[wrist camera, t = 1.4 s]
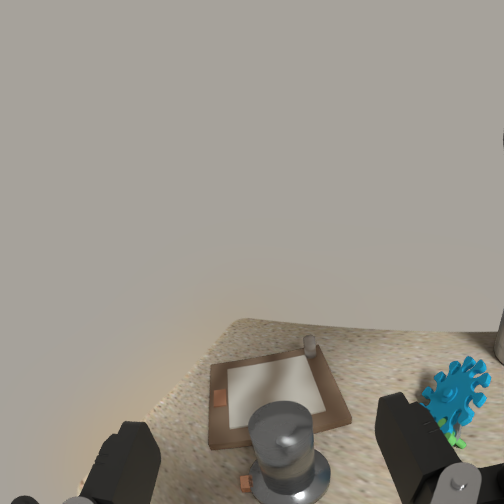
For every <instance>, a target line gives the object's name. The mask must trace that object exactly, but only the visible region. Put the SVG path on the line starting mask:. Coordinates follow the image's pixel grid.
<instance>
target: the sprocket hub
mask: <svg viewBox="0 0 504 504" xmlns="http://www.w3.org/2000/svg"><path fill="white" fill-rule="evenodd" d="M248 431H249V434H250V438H251V441H252V444H253V447H254V451H255V454H256V457H257V460H256V461H255V462H254V464H253V465H252V467H251V469H250V472H249V475H245V476H240V483H241V490H242V492H251V491H252V493H253V495H254V497H255V498H256V499H257V500H258V501H259V502H260V503H261V504H314V503H316V502H317V501H318V500H319V499H320V498H321V497H322V496H323V495H324V494H325V492H326V491H327V489H328V487H329V483H330V475H331V473H330V466H329V464H328V461H327V460H326V458H325V457H324V456H323V455H322V454H321V453H320V452H318V451H317V450H315V449H314V437H313V419H312V415H311V413H310V412H309V410H308V409H307V408H306V407H305V406H303V405H301V404H299V403H297V402H293V401H275V402H271V403H268V404H266V405H264V406H262V407H260V408H259V409H257V410H256V411H255V412H254V413H253V414H252V416H251V417H250V419H249V422H248Z"/></svg>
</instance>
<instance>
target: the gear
mask: <svg viewBox="0 0 504 504" xmlns="http://www.w3.org/2000/svg"><path fill="white" fill-rule="evenodd" d="M474 365H475V366H474ZM473 366H474V367H473ZM472 367H473V368H472ZM470 368H472V369H470ZM469 369H470V370H469ZM467 370H469V371H467ZM466 371H467V372H466ZM485 371H486V365H485V363H484V362H483V361H482V359H481V360H479V361H478V362H477V363H476V362H475V360H474V359H473V358H472V357H470V356H467V357H466V358H465V360H464V363H463V365H462V367H461V364H460V363H459V362H458V361H454V362H451V363H450V365H449V373H448V376H447V377H446V375H445V374H444V373H443V372H442V371H441V372H439V373H438V374H436V375H435V377H434V379H435V381H436V382H437V388H436V391H435V392H434V391H433V389H431V388H430V387H429V386H428V387H427V388H426V389H425V390H424V391H423V392H422V395H423V396H424V397H425V398H426V399H430V400H431V401H430V404H429V405H428V406H425V405H424V404H423V403H419V404H421V405H422V406H424V407H425V408H427V409H428V410H429V412H430V413H431V415H432V416H433V418H434V419H435V420H436V422H437V424H438V425H439V427H440V430H442V432H443V433H444V435H445V436H446V438H447V440H448V441H449V443H450V444H451V446H453V445H454V444H456V445H457V446H459V447H460V448H461V449H463V448H465V447H466V443H465V442H464V441H462V440H461V439H460V434H461V428H462V426H465V425H467V424H468V423H470V422H471V421H472V418H473V416H474V414H475V413H474V412H473V411H472V410H471V409H470V407H469V406H468V405H469V402H470V401H471V400H472V399H473V403H474V404H475V405H476V406H477V407H478V408H480V407H481V406H482V405H483V404H484V402H485V401H486V399H487V397H486V396H485V395H484V394H483V393H481V392H480V393H475V392H474V389H475V387H476V386H477V385H479V384H480V385H482V387H484V388H486V387H488V386H489V384H490V381H491V376H490V375H489V374H488V373H484V372H485ZM478 373H479V374H481V373H484V374H482V375H481V376H479V377H477V378H473V377H474V375H476V374H478Z"/></svg>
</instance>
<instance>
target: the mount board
mask: <svg viewBox="0 0 504 504" xmlns="http://www.w3.org/2000/svg"><path fill="white" fill-rule="evenodd" d="M303 340H304V348H302V349H297V350H292V351H287V352H283V353H277V354H272V355H267V356H262V357H256V358H250V359H245V360H239V361H232V362H226V363H219V364H213V365H211V373H210V401H209V442H208V445H209V447H210V449H211V450H219V449H228V448H237V447H244V446H251V445H253V444H252V441H251V438H250V434H249V431H248V422H249V419H250V417H251V416H252V414H253V413H254V412H255V411H256V410H257V409H259V408H260V407H262V406H264V405H266V404H268V403H271V402H275V401H293V402H297V403H299V404H301V405H303V406H305V407H306V408H307V409H308V410H309V412H310V413H311V415H312V419H313V434H314V433H318V432H322V431H326V430H330V429H334V428H337V427H341V426H345V425H348V424H351V421H352V417H351V415H350V412H349V410H348V408H347V406H346V403H345V401H344V399H343V397H342V395H341V392H340V390H339V388H338V386H337V384H336V381H335V379H334V377H333V375H332V373H331V371H330V368H329V366H328V364H327V362H326V360H325V358H324V355H323V353H322V351H321V349H320V347H319V345H316V344H315V336H313V335H307V336H305V337H304V338H303Z"/></svg>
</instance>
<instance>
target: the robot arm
mask: <svg viewBox="0 0 504 504" xmlns="http://www.w3.org/2000/svg"><path fill="white" fill-rule="evenodd" d="M503 145H504V136H503ZM494 352H495V355H496V356H497V358H498V359H499V360H500V362H502V363H503V364H504V309H503V314H502V318H501V322H500V326H499V330H498V334H497V338H496V341H495V345H494ZM375 436H376V440H377V443H378V445H379V447H380V450H381V452H382V455H383V457H384V459H385V462H386V464H387V467H388V469H389V472H390V474H391V477H392V479H393V482H394V484H395V487H396V489H397V492H398V494H399V497H400V499H401V502H402V504H504V463H502V464H497V465H493V466H489V467H484V468H476V467H475V466H474V465H472V464H469V463H463V462H462V461H461V460H460V459H459V457H458V456H457V454H456V452H455V451H454V449H453V448H452V446H451V444H450V443H449V441H448V440H447V438H446V436H445V435H444V433H443V432H442V430H440V427H439V425H438V424H437V422H436V421H435V419H434V418H433V416H432V415H431V413H430V412H429V410H428V409H427V408H425V407H424V406H422V405H421V404H419V403H418V402H414V403H411V404H409V402H408V401H407V399H406V398H405V396H404V394H403V393H402V392H398V393H395V394H391V395H387V396H384V397H380V399H379V402H378V409H377V416H376V422H375ZM160 463H161V454H160V449H159V447H158V445H157V443H156V441H155V439H154V437H153V435H152V433H151V431H150V429H149V427H148V425H147V424H146V423H145V422H130V421H125V422H123V424H122V425H121V428H120V430H119V432H118V434H112V435H111V436H110V437H109V438H108V439H107V440H106V441H105V442H104V443H103V445H102V447H101V449H100V451H99V455H98V456H97V458H96V460H95V464H93V466H92V469H91V471H90V473H89V475H88V478H87V480H86V482H85V484H84V487H83V489H82V491H81V493H80V495H79V496H78V497H72V498H70V499H68V500H66V501H65V502H64V503H63V504H150V502H151V498H152V494H153V490H154V486H155V482H156V478H157V475H158V471H159V467H160ZM11 504H39V503H38V502H37V501H36V500H35V499H34V498H32V497H30V496H19V497H17V498H16V499H14V500H13V501H12V503H11Z"/></svg>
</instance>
